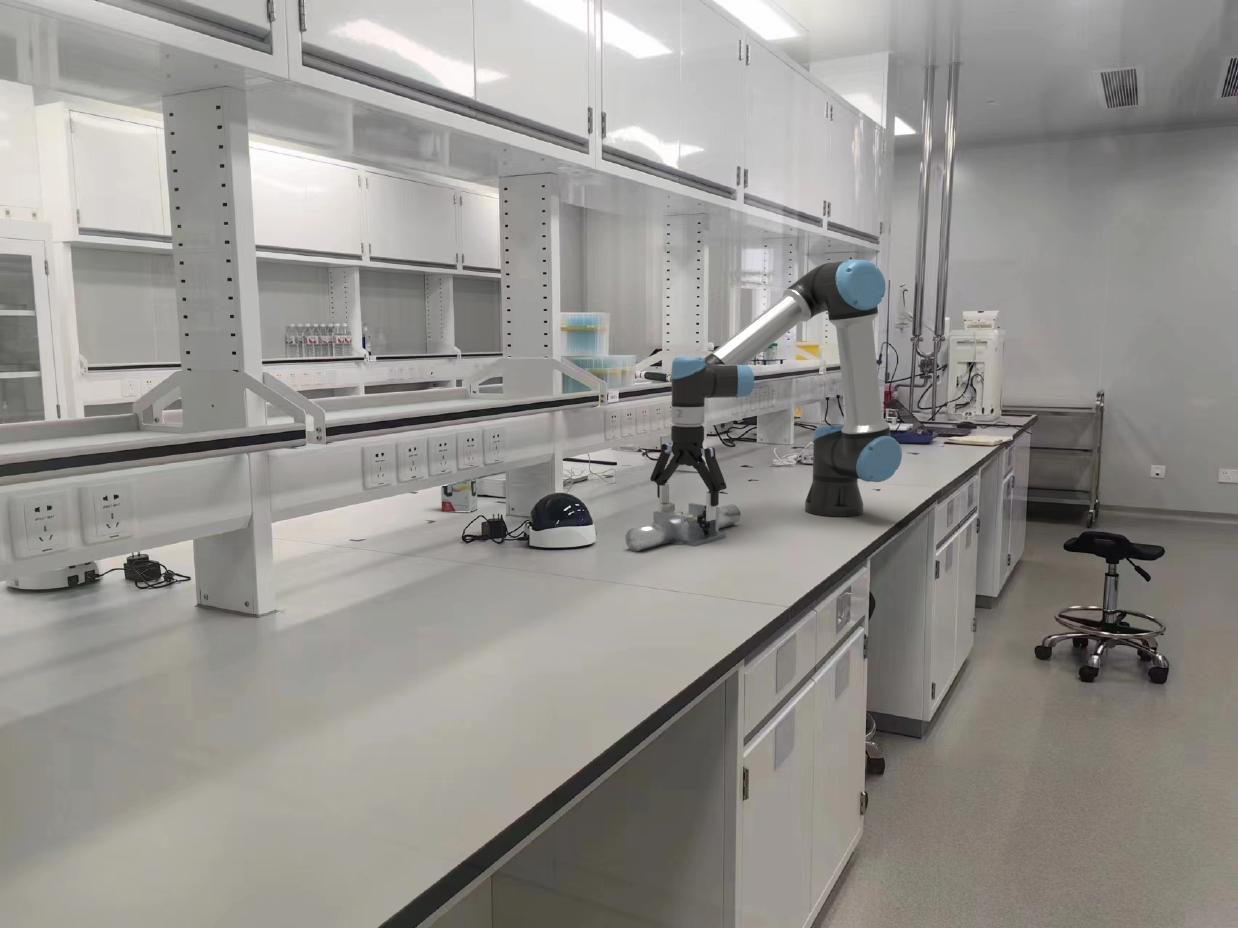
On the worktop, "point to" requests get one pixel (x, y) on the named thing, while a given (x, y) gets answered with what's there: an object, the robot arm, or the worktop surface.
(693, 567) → the worktop surface
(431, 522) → the worktop surface
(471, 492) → the ink box
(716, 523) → the pipe run
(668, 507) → the valve
